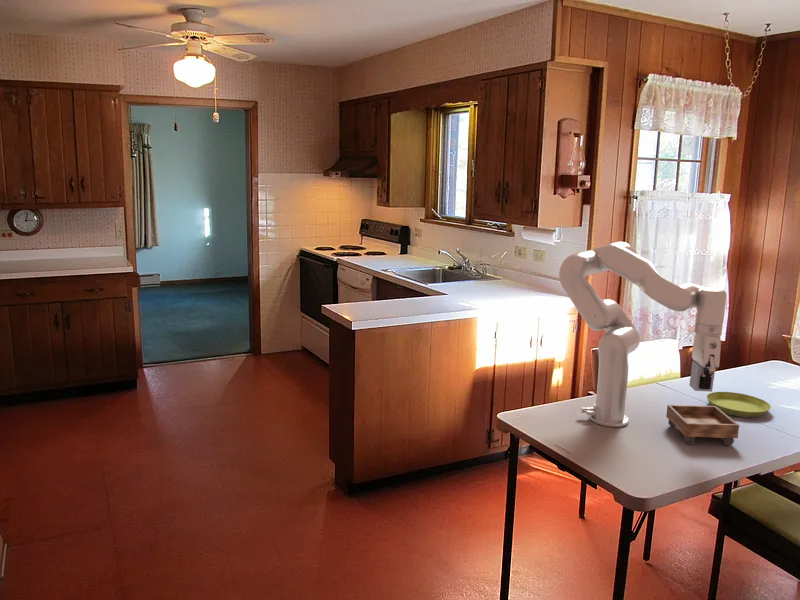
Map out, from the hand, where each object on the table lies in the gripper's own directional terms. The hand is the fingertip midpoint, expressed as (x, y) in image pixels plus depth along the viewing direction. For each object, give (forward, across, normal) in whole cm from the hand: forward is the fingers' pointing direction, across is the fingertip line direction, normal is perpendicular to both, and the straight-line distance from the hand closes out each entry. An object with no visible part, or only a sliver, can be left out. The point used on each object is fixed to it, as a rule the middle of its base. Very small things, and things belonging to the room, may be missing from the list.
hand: (700, 385), depth 199 cm
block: (+1, 0, 0) cm, 1 cm away
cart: (+19, +6, -4) cm, 20 cm away
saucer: (+20, +32, -27) cm, 46 cm away
